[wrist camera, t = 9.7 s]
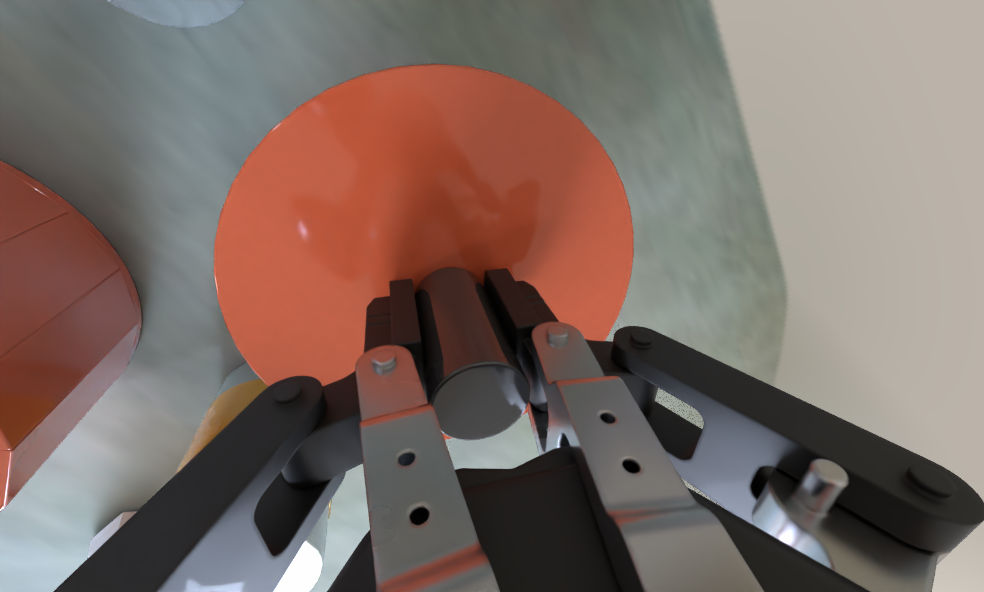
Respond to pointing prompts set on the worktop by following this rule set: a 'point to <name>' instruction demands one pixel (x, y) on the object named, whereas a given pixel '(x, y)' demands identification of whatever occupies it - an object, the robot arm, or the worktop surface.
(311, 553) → the can
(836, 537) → the robot arm
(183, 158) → the worktop surface
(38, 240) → the pot
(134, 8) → the silver metal cup
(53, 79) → the worktop surface
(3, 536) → the worktop surface
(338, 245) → the lid
